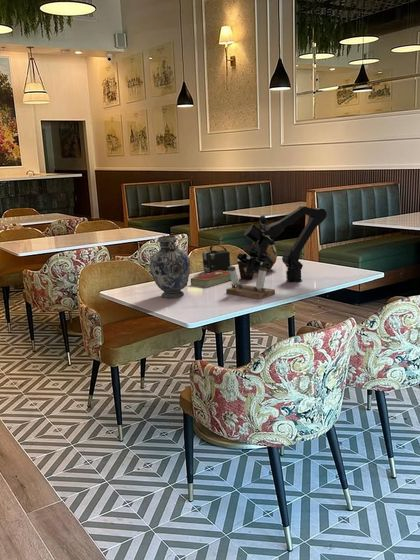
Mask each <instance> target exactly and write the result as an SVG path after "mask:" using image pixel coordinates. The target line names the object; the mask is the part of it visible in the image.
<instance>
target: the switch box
mask: <svg viewBox="0 0 420 560" xmlns="http://www.w3.org/2000/svg"><path fill="white" fill-rule="evenodd" d="M226 294H229V295H233V296H234V295H235V296H240V297H243V298H244V297H245V298H252V299H256V300H260V299H264V298H266V297H269V296H272V295H273V296H274V295H275V294H276V290H275V289H273V288H269V287H268V288H266V287H263V288H262V289H258V288H256V285H249V284H240V285H239V286H233V283H232V284H231V287H229V288H226Z"/></svg>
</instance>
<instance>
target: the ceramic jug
mask: <svg viewBox="0 0 420 560" xmlns="http://www.w3.org/2000/svg"><path fill="white" fill-rule="evenodd" d="M268 223H269V222H268V219H266V215H263V214H262V215H260V216H259V220H258V225H259V227H258V228H259V229H260V230H261V229H264V228H265V227H266V226H267V225H268ZM262 235H264V234H262ZM264 236H265V237H266V236H267V235H264ZM267 237H269V236H267ZM269 238H270V237H269ZM270 239H271V238H270ZM257 242H258V241H257ZM257 242H256V241H255V242H253V241H252V243H251V245H254V244H257ZM266 252H267V254H266V255H267V256H269V257H270V258H271V260H272V261H273V264H272V266H271V267H268V266H266V263H265V262H263V263H262V268H267V272H270V271H271V270H272V269H273V267H274V265H275V263H276V262H277V258H278V253H277V248H276V246H275V244H274V245H269V247H268V249H267V251H266ZM248 256H250V255H249V254H248ZM256 270H257V269H256ZM256 270H255V271H256ZM256 272H259V270H257V271H256Z"/></svg>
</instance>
